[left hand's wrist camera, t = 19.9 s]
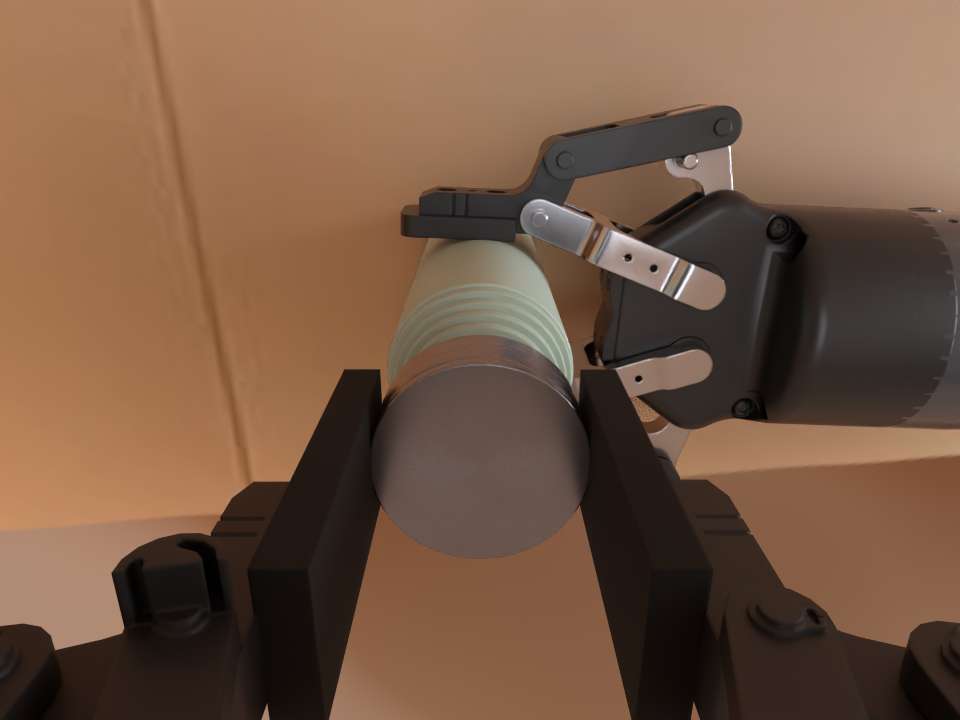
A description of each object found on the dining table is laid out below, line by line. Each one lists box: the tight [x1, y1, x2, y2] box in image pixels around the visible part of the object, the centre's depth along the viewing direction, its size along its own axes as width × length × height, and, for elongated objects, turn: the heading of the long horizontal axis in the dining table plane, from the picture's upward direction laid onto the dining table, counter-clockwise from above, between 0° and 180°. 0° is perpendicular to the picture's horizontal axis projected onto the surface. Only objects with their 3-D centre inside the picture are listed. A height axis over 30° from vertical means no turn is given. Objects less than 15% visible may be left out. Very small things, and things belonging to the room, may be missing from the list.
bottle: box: [387, 234, 573, 386], centre depth 22 cm, size 5×5×17 cm
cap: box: [370, 335, 590, 558], centre depth 14 cm, size 4×4×2 cm
